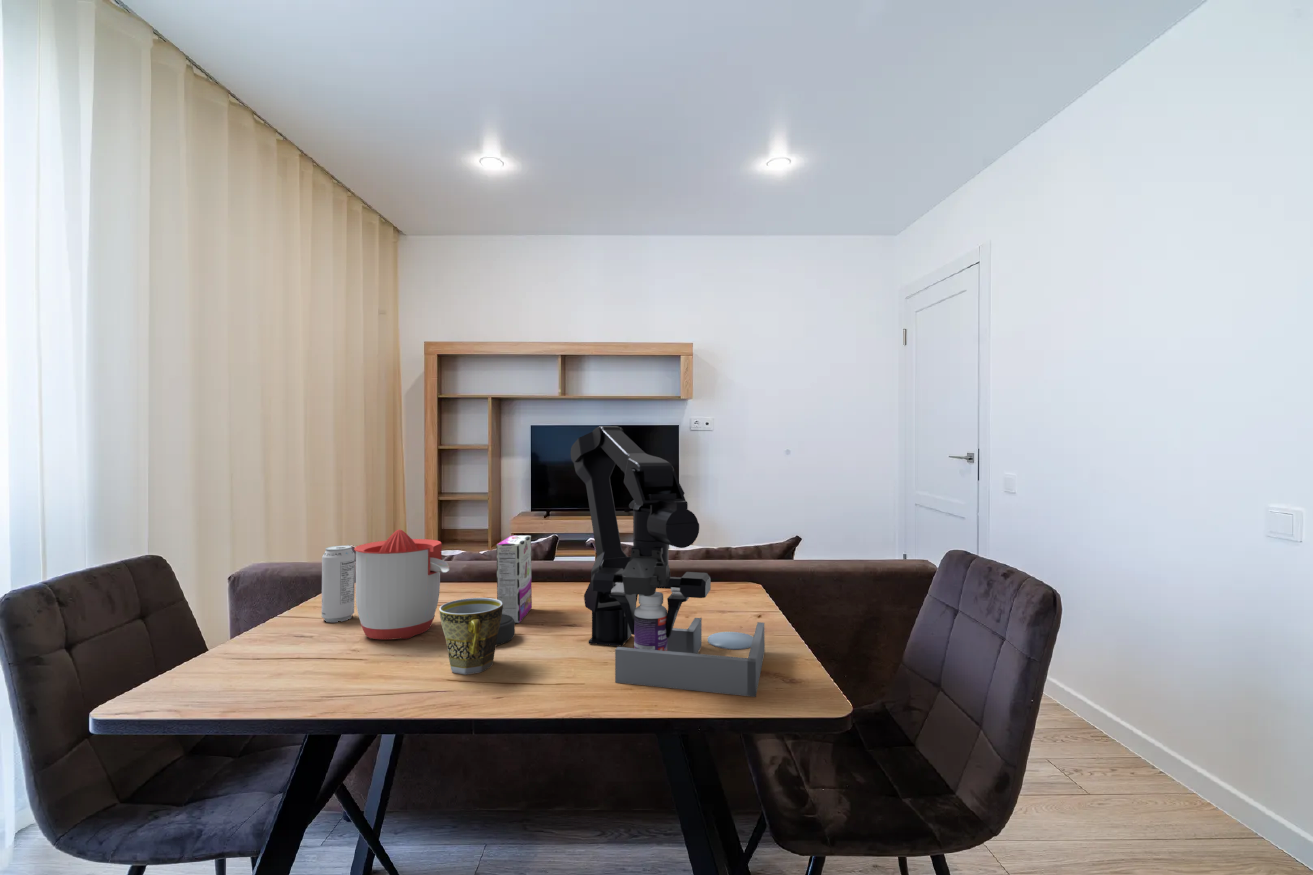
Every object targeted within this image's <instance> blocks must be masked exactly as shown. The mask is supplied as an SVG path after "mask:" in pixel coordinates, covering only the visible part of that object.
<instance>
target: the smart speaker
mask: <svg viewBox="0 0 1313 875" xmlns="http://www.w3.org/2000/svg"><path fill="white" fill-rule="evenodd" d="M515 624H516V623H515V621H514V619H513V618H512V617H511V616H509V615H506V614H502V617H501V622H500V627H499V631H498V636H497V642H496V646H499V645H503V644H506V643H508V642H510V641H511V640H512V639H514V637H515V634H516V632H515V631H516V630H515V629H516V627H515Z"/></svg>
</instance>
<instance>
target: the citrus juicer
mask: <svg viewBox="0 0 1313 875" xmlns="http://www.w3.org/2000/svg"><path fill="white" fill-rule="evenodd" d="M442 546H443V544H442V542H441V541H439V540H436V539H430V538H429V539H428V538H427V539H426V538H411V536H410V535H409V534H407V533H406V532H405V531H404V530H402V529H401V528H399V529H397V530H395V531H394V532H393V533H392V534H390V536H388V538H387V539H386V540H380V541H379V540H378V541H372V542H368V543H363V544H359V545H357V546H355V547H354V548H353V549H354V551H355V604H356V611H357V614H358V619H359V622H360V626H361V628H362V630H363V633H364V635H365V636H366V637H367V638H368V639H371V638H373V639H372V640H374V639H375V640H396V639H397V640H398V639H404V640H406V639H407V640H409V639H411V638H413V637H414V636H417V635H420V634H423V633H425V632H427V631H428V630H429V629H430V628H431V626H432V624H433V622H434V619H435V617H436V616H435V614H436V610H437V607H438V605H439V604H438V603H439V598H440V591H441V590H440V588H441V587H440V586H441V574H446V573H448V572H449V571H450V566H449V563H448V562H447V561H445V560H442V559H443V558H442V555H443V554H442V552H443V550H442V549H443V548H442Z"/></svg>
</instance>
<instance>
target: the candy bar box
mask: <svg viewBox="0 0 1313 875" xmlns="http://www.w3.org/2000/svg"><path fill="white" fill-rule="evenodd" d="M496 593H497V594H496V599H497V600H500V601H502V602H503V610H502V614H506V615H509V616H511V617H512V618H513V619H514V621H515V624H520V623H521V622H522V621H523V619H524V618H525V617H526V616H527V615H528V613H529V612H530V611H531V609H532V608H533V604H532V603H533V602H532V598H533V597H532V593H533V592H532V535H523V534H521V535H519V534H518V535H516V534H515V535H510V536H508V537H506V538H505V539H503V540H501V541H500V542H499V543H497V544H496Z"/></svg>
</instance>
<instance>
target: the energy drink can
mask: <svg viewBox="0 0 1313 875" xmlns="http://www.w3.org/2000/svg"><path fill="white" fill-rule="evenodd" d="M352 548H353V547H352V546H351V545H334V546H333V545H332V546H328V547H325V551H324V553H323V555H322V556H321V618H322V619H324V622H325V621H326V623H339V622H338V621H341V622H345V621H348V619H349V620H350V619H352V617H353V615H354V613H355V585H356V553H355V552H354V551H353V549H352Z"/></svg>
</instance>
